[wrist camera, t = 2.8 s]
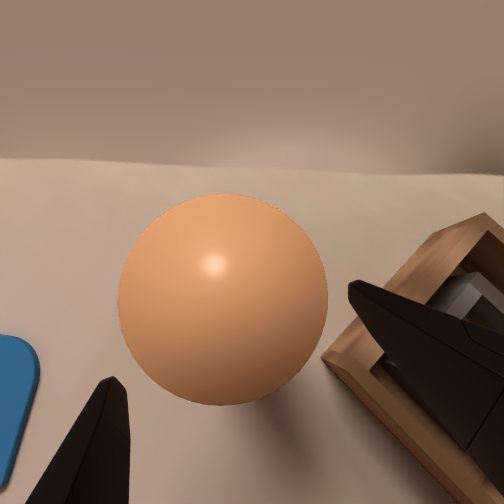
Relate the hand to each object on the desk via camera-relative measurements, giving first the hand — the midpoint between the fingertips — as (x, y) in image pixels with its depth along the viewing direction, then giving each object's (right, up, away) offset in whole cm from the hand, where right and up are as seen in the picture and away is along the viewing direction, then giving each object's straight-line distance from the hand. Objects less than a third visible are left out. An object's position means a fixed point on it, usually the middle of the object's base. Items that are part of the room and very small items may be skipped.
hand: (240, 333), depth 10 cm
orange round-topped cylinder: (-1, -1, +9) cm, 9 cm away
